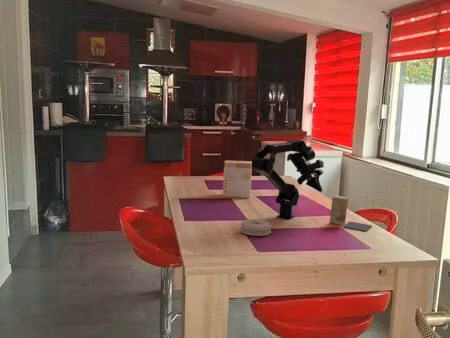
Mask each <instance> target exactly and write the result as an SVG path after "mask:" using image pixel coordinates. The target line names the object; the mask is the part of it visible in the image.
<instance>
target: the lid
mask: <svg viewBox="0 0 450 338" xmlns="http://www.w3.org/2000/svg"><path fill="white" fill-rule="evenodd" d="M271 230H272V224H271V223H270V222H269V221H266V220H263V219H255V218H254V219H252V218H251V219H245V220H243V221H242V222H241V223H240V232H241V233H243V234H244V235H248V236H255V237H256V236H257V237H259V236H260V237H262V236H269V235H270V234H271V233H272V231H271Z"/></svg>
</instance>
